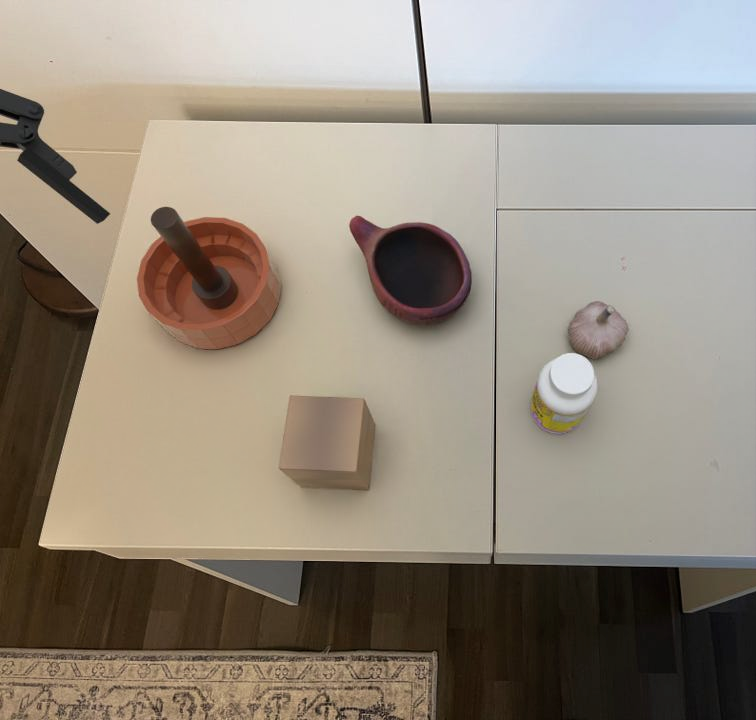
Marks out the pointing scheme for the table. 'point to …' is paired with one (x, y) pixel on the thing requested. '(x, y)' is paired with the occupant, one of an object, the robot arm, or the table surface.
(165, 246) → the mixing bowl
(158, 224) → the cylinder
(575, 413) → the supplement bottle
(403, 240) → the bowl
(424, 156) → the table surface
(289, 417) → the cube
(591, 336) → the garlic bulb
